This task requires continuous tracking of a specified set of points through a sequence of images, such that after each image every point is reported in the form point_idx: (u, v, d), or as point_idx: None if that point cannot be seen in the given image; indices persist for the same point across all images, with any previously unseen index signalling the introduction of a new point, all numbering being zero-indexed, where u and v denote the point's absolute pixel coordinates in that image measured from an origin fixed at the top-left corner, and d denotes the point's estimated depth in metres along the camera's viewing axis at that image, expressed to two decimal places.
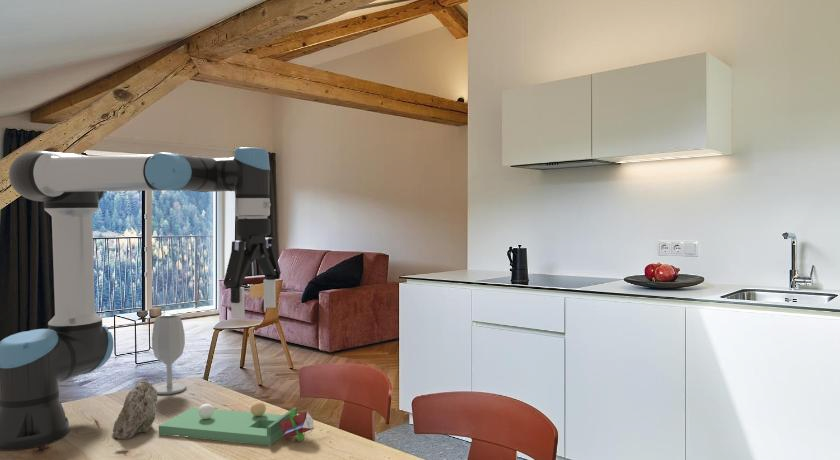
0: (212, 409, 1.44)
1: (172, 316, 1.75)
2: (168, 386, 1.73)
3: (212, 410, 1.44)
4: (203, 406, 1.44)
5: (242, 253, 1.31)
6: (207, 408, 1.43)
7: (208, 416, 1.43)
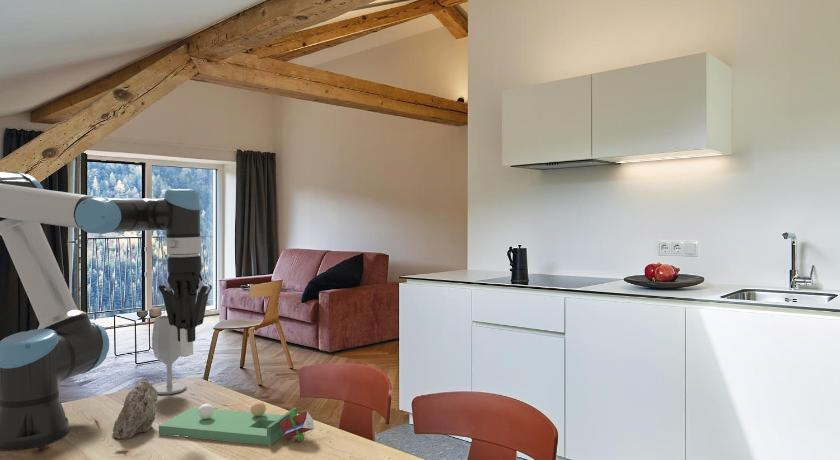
0: (212, 409, 1.44)
1: None
2: (168, 386, 1.73)
3: (212, 410, 1.44)
4: (203, 406, 1.44)
5: (164, 295, 1.45)
6: (207, 408, 1.43)
7: (208, 416, 1.43)
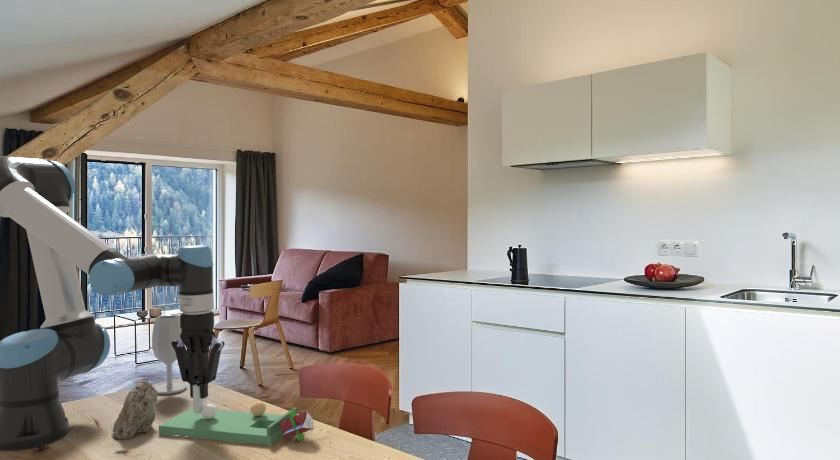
0: (216, 412, 1.44)
1: (172, 316, 1.75)
2: (168, 386, 1.73)
3: (215, 413, 1.44)
4: (209, 407, 1.43)
5: (177, 351, 1.44)
6: (212, 411, 1.43)
7: (210, 418, 1.43)
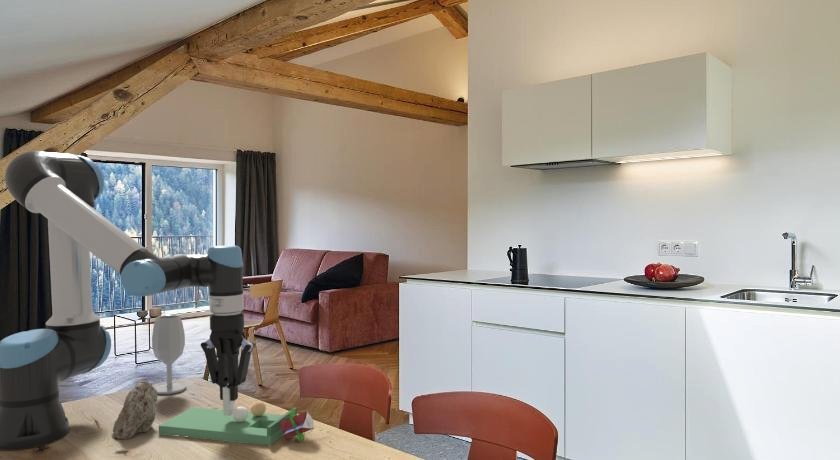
0: None
1: (172, 316, 1.75)
2: (168, 386, 1.73)
3: (241, 407, 1.42)
4: None
5: (206, 353, 1.42)
6: (235, 409, 1.42)
7: (242, 412, 1.41)
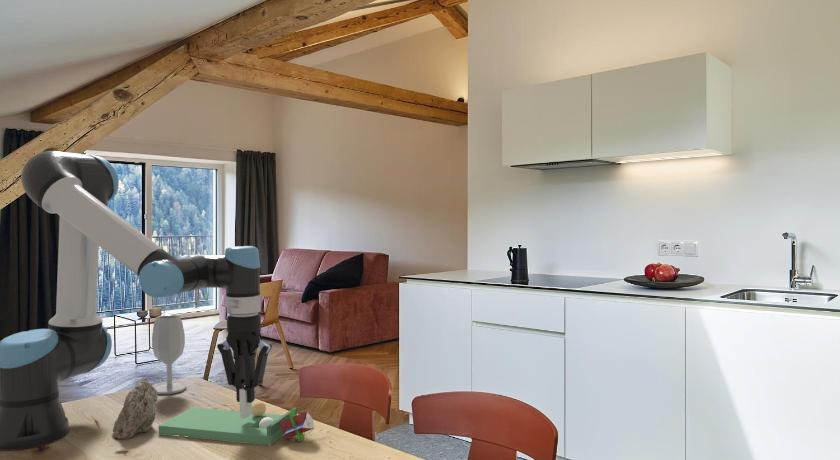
0: None
1: (172, 316, 1.75)
2: (168, 386, 1.73)
3: None
4: None
5: (223, 354, 1.41)
6: None
7: (259, 423, 1.40)
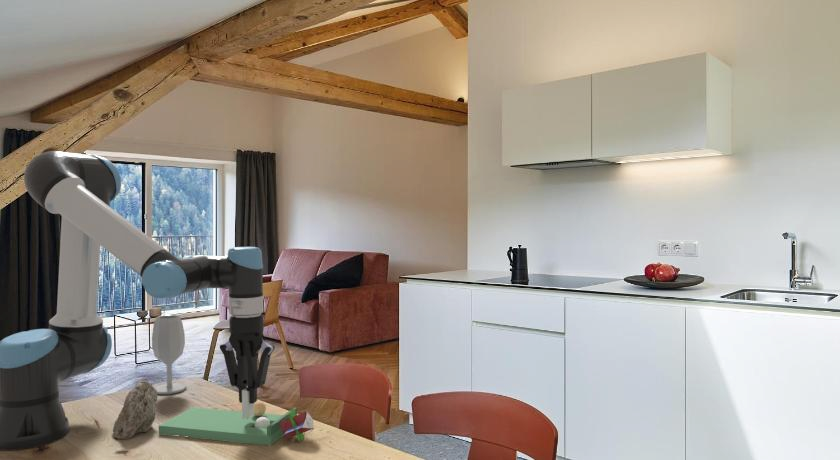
0: None
1: (172, 316, 1.75)
2: (168, 386, 1.73)
3: None
4: None
5: (226, 355, 1.41)
6: None
7: None
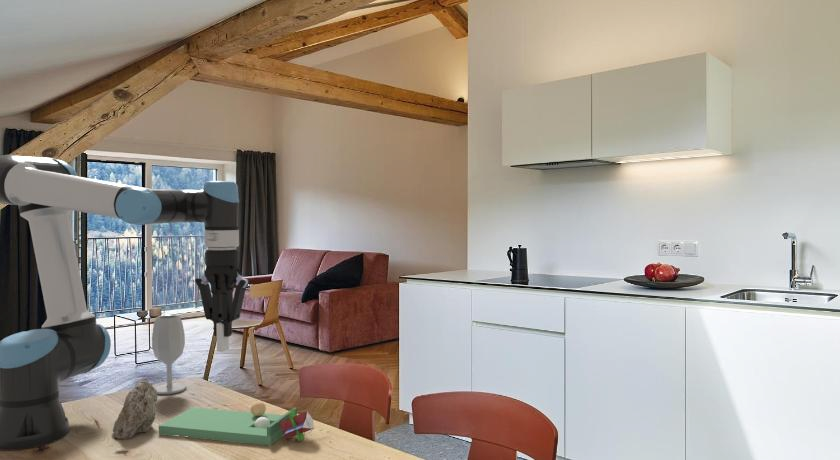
0: None
1: (172, 316, 1.75)
2: (168, 386, 1.73)
3: None
4: None
5: (201, 289, 1.42)
6: None
7: (254, 426, 1.41)
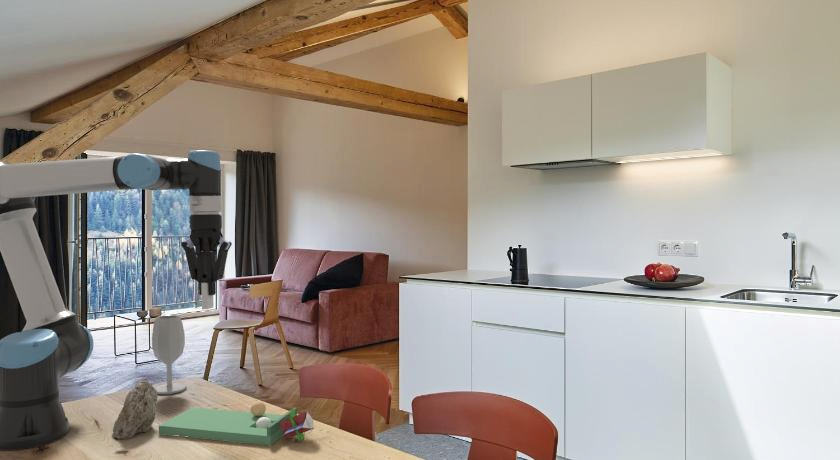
0: None
1: (172, 316, 1.75)
2: (168, 386, 1.73)
3: None
4: None
5: (186, 251, 1.53)
6: None
7: None
